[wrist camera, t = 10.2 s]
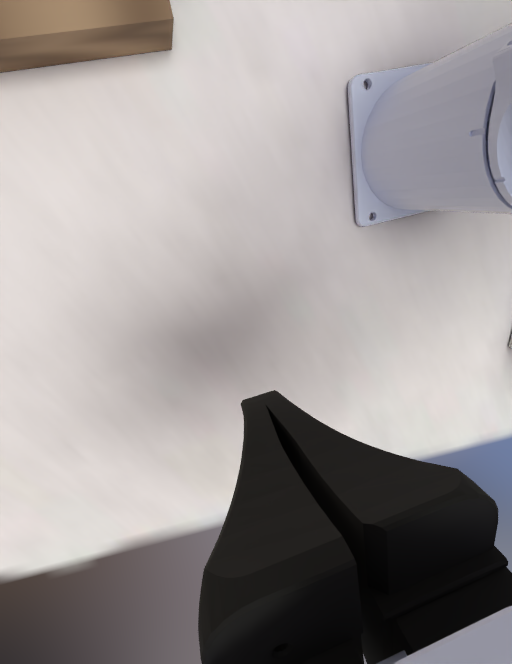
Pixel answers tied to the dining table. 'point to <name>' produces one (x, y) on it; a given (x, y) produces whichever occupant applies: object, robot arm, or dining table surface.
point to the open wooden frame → (80, 30)
